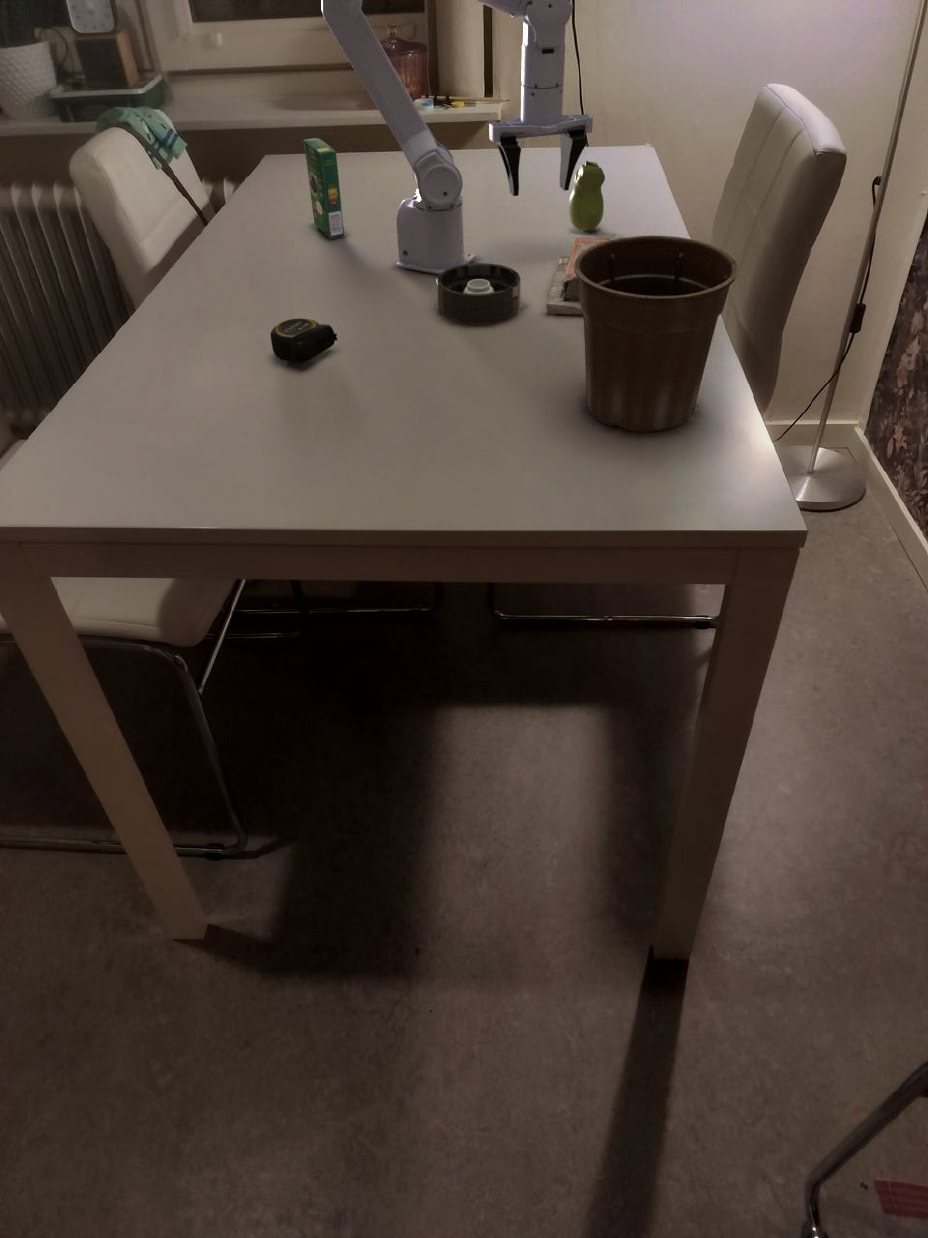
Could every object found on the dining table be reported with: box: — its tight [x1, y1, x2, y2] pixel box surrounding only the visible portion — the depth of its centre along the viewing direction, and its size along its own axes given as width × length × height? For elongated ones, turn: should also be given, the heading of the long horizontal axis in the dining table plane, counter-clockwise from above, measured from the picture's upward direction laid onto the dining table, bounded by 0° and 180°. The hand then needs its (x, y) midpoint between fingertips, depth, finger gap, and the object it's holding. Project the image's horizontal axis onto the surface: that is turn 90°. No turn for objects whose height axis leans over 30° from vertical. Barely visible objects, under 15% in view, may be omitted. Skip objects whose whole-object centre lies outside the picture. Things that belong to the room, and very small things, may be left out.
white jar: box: [463, 279, 494, 294], centre depth 119 cm, size 5×3×5 cm
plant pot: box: [574, 235, 739, 433], centre depth 94 cm, size 16×16×16 cm
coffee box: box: [303, 137, 345, 240], centre depth 140 cm, size 8×3×13 cm, turn 26°
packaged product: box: [545, 236, 612, 315], centre depth 122 cm, size 18×5×10 cm
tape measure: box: [270, 317, 338, 364], centre depth 110 cm, size 7×7×4 cm
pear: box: [568, 160, 606, 232], centre depth 139 cm, size 6×5×10 cm
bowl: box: [435, 262, 522, 324], centre depth 119 cm, size 11×11×4 cm
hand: (539, 191), depth 127 cm, fingers open, 7 cm apart
